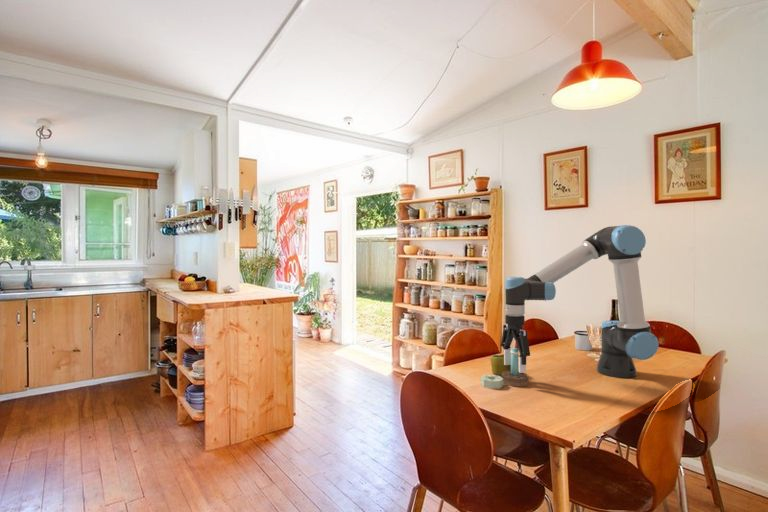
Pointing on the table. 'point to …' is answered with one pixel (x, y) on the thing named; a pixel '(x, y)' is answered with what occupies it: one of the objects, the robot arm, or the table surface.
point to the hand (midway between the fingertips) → (514, 368)
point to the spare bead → (492, 381)
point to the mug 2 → (582, 341)
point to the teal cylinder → (514, 361)
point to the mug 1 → (499, 365)
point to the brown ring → (515, 379)
